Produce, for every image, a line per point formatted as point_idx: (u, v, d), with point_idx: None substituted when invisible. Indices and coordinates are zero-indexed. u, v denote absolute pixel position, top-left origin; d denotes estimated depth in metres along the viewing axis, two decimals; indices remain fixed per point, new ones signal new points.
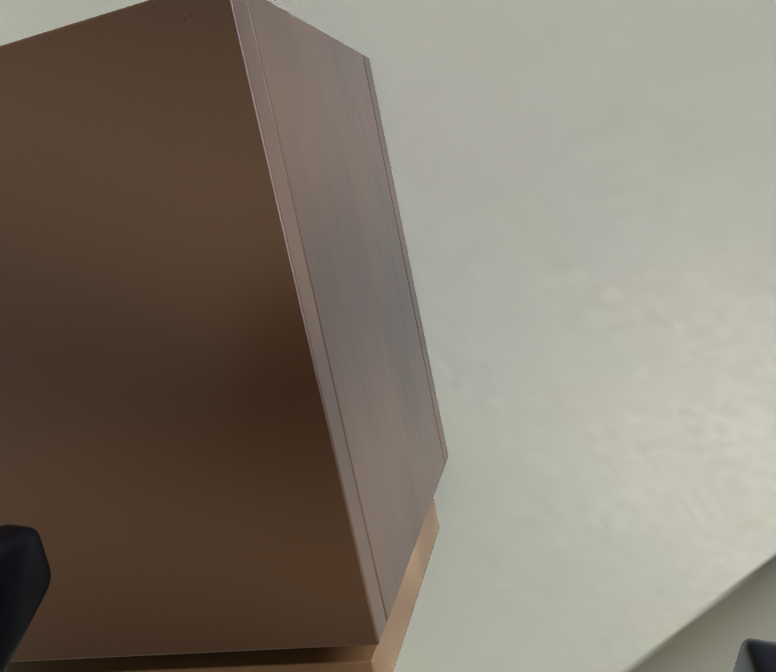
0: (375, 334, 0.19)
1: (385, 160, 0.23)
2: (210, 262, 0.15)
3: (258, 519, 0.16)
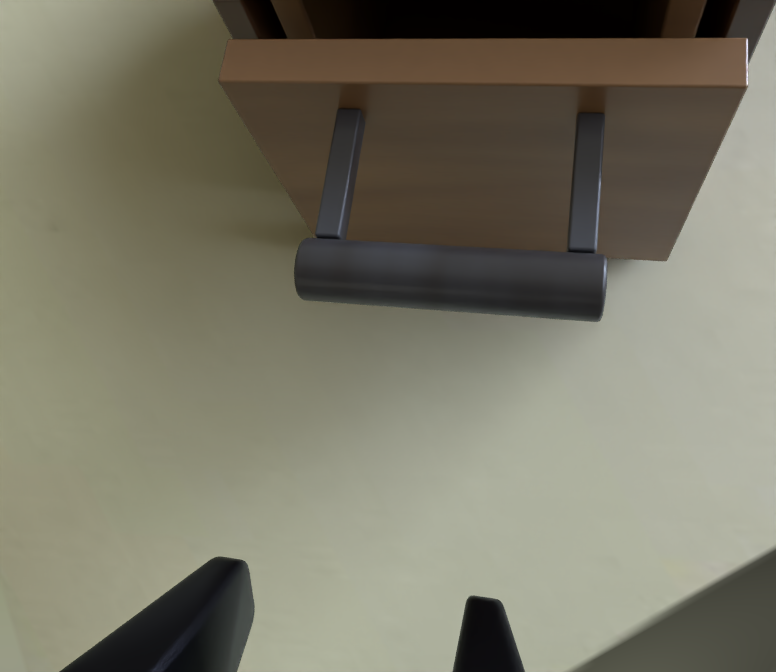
0: None
1: None
2: None
3: None
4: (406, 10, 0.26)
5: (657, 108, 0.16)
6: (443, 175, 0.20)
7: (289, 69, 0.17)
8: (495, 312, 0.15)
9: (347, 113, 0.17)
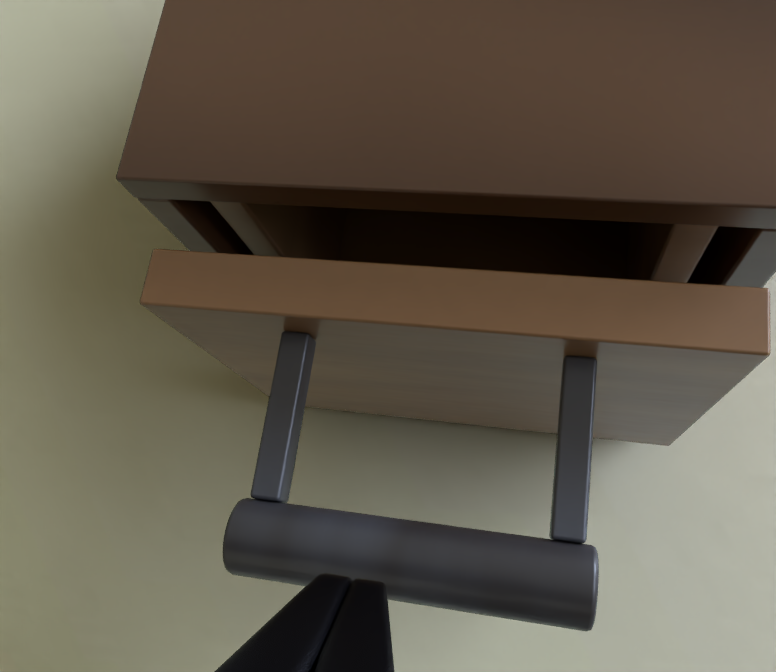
0: None
1: None
2: None
3: (697, 45, 0.13)
4: None
5: (659, 359, 0.13)
6: (412, 378, 0.17)
7: (222, 293, 0.14)
8: (463, 611, 0.13)
9: (293, 339, 0.14)
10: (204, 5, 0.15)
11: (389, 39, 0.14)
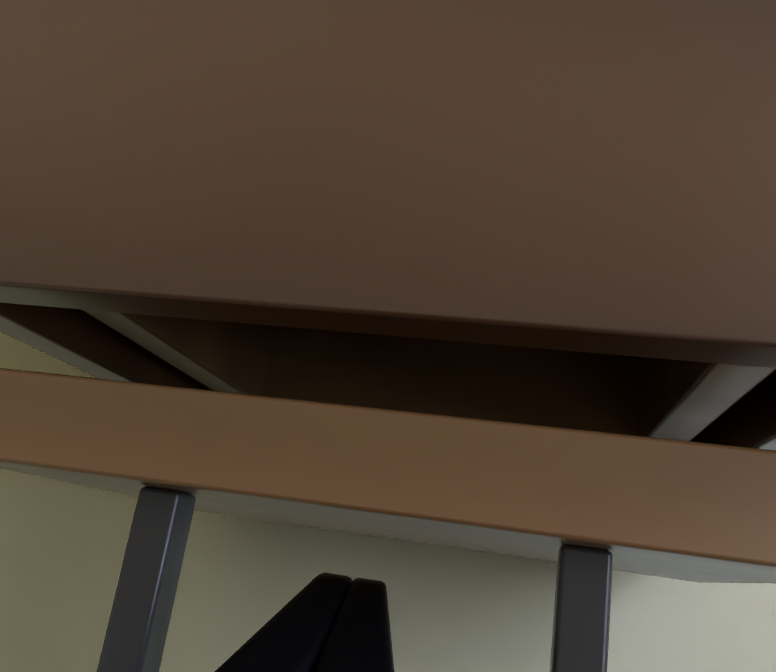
0: None
1: None
2: None
3: (772, 76, 0.08)
4: None
5: (713, 563, 0.08)
6: (349, 523, 0.12)
7: (41, 438, 0.09)
8: None
9: (155, 500, 0.10)
10: (32, 11, 0.10)
11: (293, 63, 0.09)
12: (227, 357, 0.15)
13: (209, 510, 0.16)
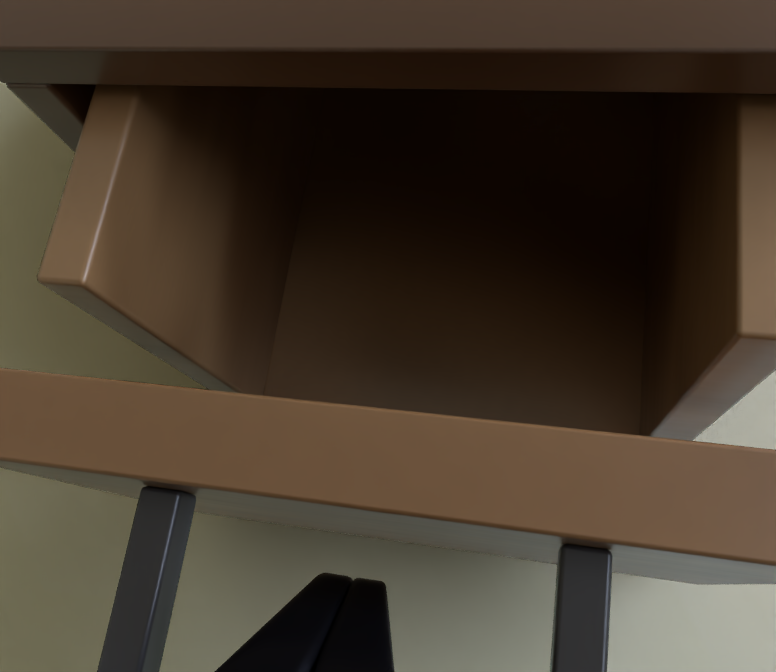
0: None
1: None
2: None
3: None
4: (332, 177, 0.19)
5: (713, 562, 0.08)
6: (350, 524, 0.12)
7: (43, 438, 0.09)
8: None
9: (156, 500, 0.10)
10: None
11: None
12: (228, 359, 0.15)
13: (209, 512, 0.16)
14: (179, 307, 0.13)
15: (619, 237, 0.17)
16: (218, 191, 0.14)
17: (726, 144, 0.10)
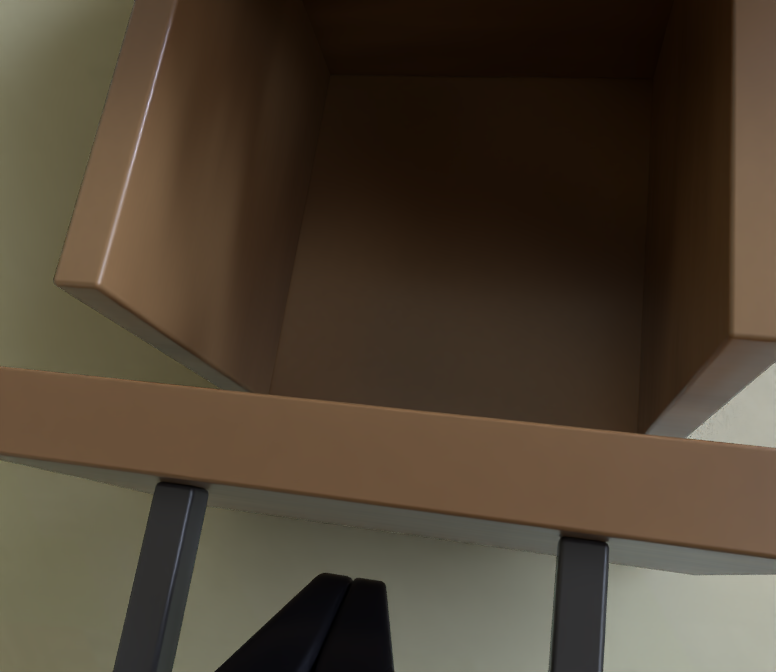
0: None
1: None
2: None
3: None
4: (336, 176, 0.19)
5: (705, 554, 0.09)
6: (355, 518, 0.13)
7: (62, 436, 0.10)
8: None
9: (170, 495, 0.10)
10: None
11: None
12: (235, 356, 0.15)
13: (217, 505, 0.17)
14: (189, 307, 0.13)
15: (618, 236, 0.17)
16: (225, 194, 0.14)
17: (720, 150, 0.10)
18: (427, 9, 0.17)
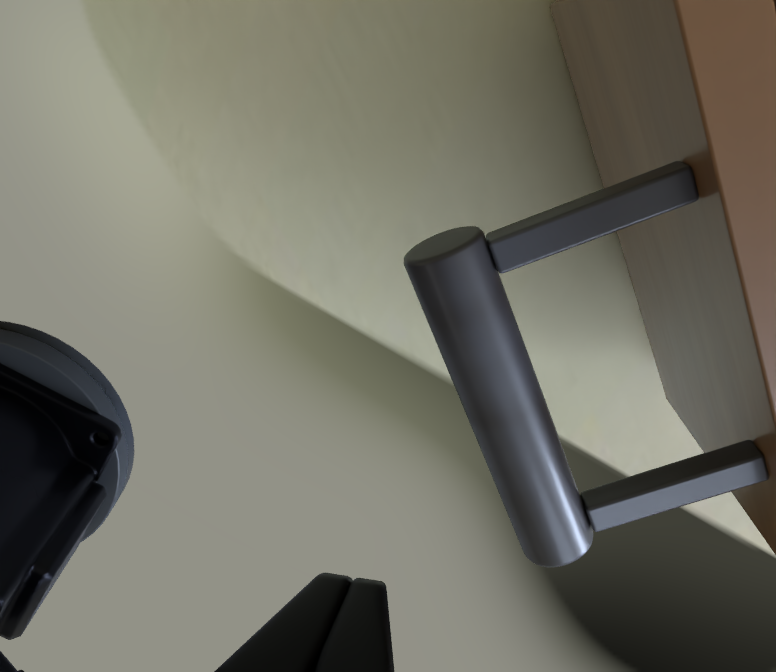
0: None
1: None
2: None
3: None
4: None
5: None
6: (664, 243, 0.15)
7: (725, 100, 0.10)
8: (488, 466, 0.14)
9: (685, 187, 0.11)
10: None
11: None
12: None
13: (571, 42, 0.17)
14: None
15: None
16: None
17: None
18: None
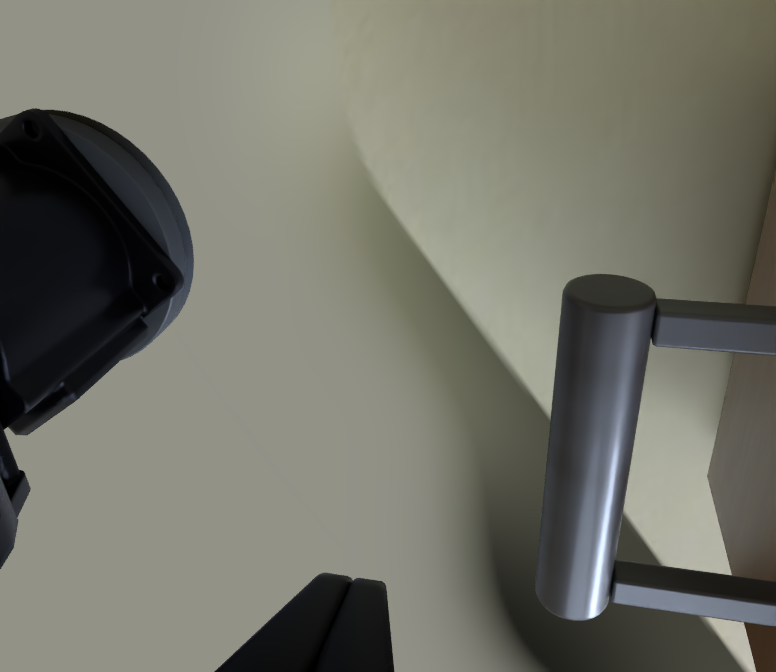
0: None
1: None
2: None
3: None
4: None
5: None
6: None
7: None
8: None
9: None
10: None
11: None
12: None
13: None
14: None
15: None
16: None
17: None
18: None
